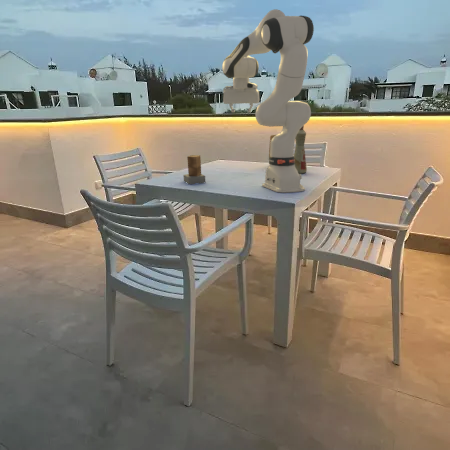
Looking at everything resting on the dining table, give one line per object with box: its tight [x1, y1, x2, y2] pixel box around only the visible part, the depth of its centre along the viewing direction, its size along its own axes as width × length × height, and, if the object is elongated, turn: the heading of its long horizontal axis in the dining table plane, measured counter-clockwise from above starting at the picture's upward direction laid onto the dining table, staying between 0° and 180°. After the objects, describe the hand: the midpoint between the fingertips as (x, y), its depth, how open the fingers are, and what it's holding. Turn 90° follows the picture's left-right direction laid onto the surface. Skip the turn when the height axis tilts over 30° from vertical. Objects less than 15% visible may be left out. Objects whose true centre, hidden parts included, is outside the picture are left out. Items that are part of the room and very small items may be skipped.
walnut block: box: [186, 154, 202, 176], centre depth 172 cm, size 5×5×10 cm
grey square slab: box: [183, 173, 206, 185], centre depth 174 cm, size 9×9×4 cm
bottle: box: [293, 125, 307, 175], centre depth 189 cm, size 9×9×28 cm
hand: (241, 112), depth 185 cm, fingers open, 8 cm apart
